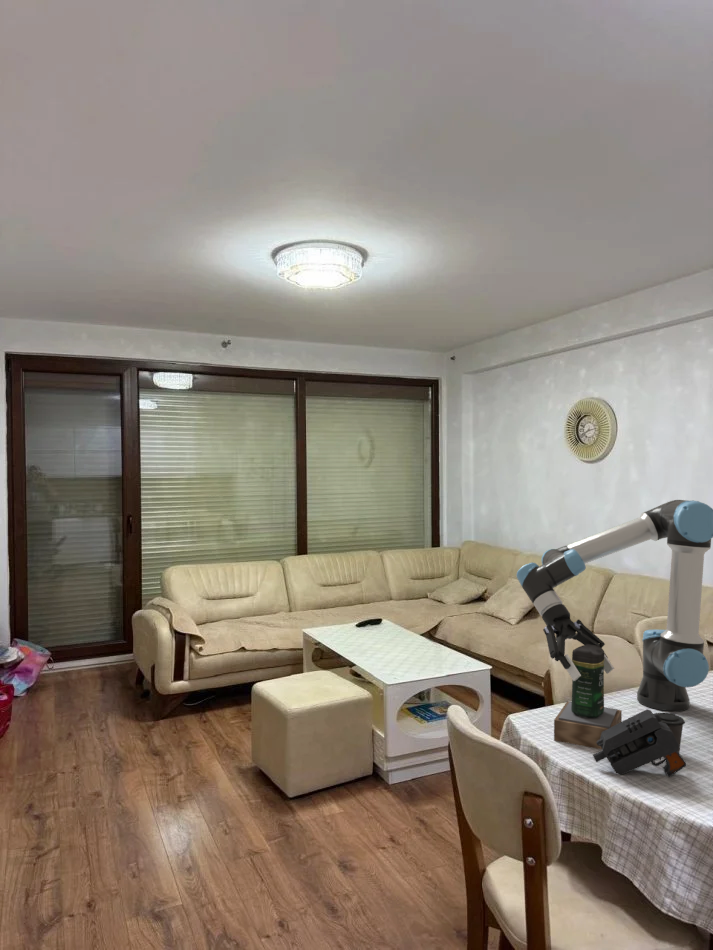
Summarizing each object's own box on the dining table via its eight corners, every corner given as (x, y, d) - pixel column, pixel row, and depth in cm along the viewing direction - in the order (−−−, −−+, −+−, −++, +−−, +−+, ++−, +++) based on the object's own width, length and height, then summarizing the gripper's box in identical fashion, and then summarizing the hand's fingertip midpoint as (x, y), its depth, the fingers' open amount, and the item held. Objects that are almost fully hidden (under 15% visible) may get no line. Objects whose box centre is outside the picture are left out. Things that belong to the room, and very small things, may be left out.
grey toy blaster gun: (694, 769, 153) (660, 711, 155) (619, 803, 157) (586, 746, 158) (687, 759, 159) (654, 703, 161) (614, 791, 163) (583, 736, 164)
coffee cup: (684, 750, 171) (684, 712, 171) (685, 763, 164) (685, 723, 164) (650, 745, 175) (650, 707, 175) (650, 757, 167) (650, 718, 167)
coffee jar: (597, 721, 176) (597, 651, 176) (567, 714, 180) (568, 647, 181) (608, 711, 183) (608, 644, 183) (579, 705, 188) (579, 640, 188)
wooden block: (621, 730, 185) (621, 708, 185) (612, 751, 171) (612, 728, 171) (566, 720, 193) (566, 699, 193) (554, 740, 178) (554, 718, 178)
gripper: (574, 613, 202) (615, 674, 189) (514, 622, 189) (554, 688, 176) (588, 598, 197) (631, 660, 184) (528, 606, 184) (570, 674, 171)
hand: (594, 674), depth 180 cm, fingers open, 13 cm apart
